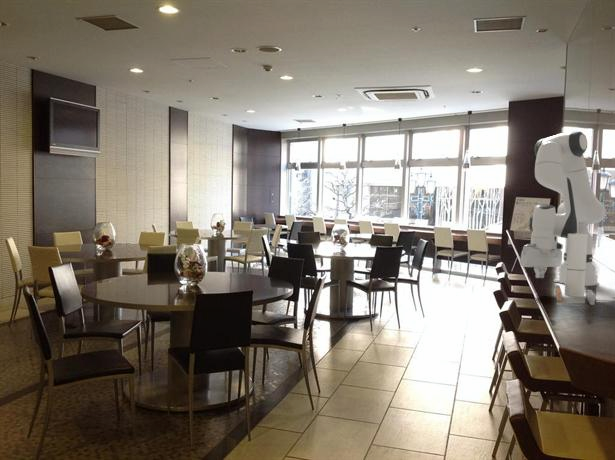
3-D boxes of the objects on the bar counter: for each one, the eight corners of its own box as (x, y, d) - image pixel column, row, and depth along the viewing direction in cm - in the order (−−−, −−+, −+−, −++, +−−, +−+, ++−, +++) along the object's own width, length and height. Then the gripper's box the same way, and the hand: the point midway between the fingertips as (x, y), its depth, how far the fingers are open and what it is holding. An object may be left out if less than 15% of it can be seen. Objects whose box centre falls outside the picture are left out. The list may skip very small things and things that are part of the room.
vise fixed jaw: (586, 298, 211) (587, 289, 211) (590, 298, 211) (591, 290, 210) (590, 304, 198) (590, 295, 198) (594, 305, 198) (595, 295, 198)
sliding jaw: (555, 292, 222) (555, 284, 222) (558, 292, 221) (559, 285, 221) (557, 300, 203) (557, 292, 202) (561, 301, 202) (561, 292, 202)
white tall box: (580, 294, 221) (583, 233, 219) (587, 297, 214) (590, 235, 212) (561, 293, 222) (565, 233, 220) (568, 296, 215) (571, 234, 213)
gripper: (530, 244, 212) (527, 279, 213) (565, 245, 221) (563, 278, 222) (517, 243, 218) (515, 276, 219) (553, 243, 227) (550, 276, 228)
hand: (539, 277), depth 220 cm, fingers closed
